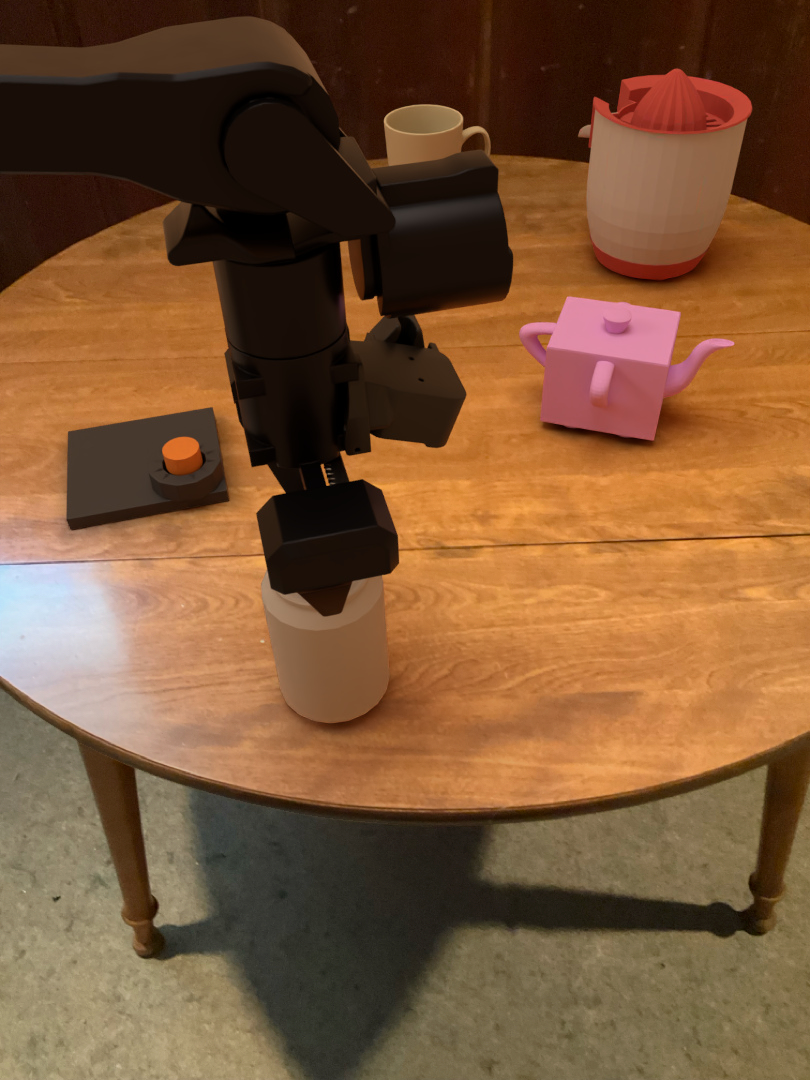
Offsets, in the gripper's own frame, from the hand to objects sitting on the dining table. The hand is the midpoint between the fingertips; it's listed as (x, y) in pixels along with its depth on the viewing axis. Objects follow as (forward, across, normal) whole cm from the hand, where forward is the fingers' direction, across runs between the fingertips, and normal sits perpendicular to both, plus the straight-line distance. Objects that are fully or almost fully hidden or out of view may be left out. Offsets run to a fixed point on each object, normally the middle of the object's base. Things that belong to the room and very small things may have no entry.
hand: (317, 556), depth 55 cm
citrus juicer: (+13, +50, -45) cm, 68 cm away
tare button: (+10, +24, +8) cm, 27 cm away
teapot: (+13, +23, -30) cm, 40 cm away
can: (+13, 0, 0) cm, 13 cm away
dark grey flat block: (+13, +27, +12) cm, 32 cm away
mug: (+13, +66, -25) cm, 72 cm away
